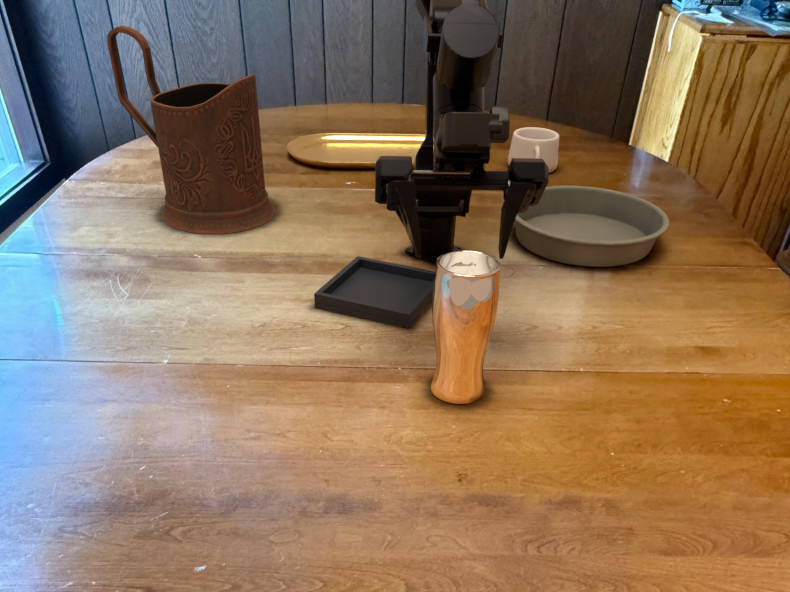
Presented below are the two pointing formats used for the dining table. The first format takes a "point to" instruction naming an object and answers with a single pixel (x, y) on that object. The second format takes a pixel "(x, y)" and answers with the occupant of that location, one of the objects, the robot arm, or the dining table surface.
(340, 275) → the serving tray
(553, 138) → the mug
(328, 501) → the dining table surface
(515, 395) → the dining table surface
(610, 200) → the cake pan
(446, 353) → the beer glass
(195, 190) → the cup holder
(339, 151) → the serving platter
